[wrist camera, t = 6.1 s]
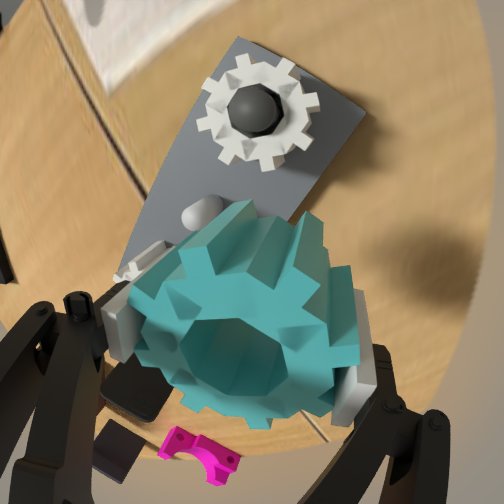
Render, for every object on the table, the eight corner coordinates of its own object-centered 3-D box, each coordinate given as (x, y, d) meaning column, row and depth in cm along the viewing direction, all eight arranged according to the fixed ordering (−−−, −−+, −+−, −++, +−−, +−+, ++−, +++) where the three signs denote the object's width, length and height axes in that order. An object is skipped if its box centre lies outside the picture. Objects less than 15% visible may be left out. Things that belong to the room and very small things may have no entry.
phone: (153, 322, 41) (95, 393, 27) (154, 318, 40) (95, 389, 27) (199, 345, 40) (151, 426, 27) (200, 341, 40) (152, 423, 26)
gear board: (242, 39, 24) (210, 10, 16) (364, 113, 24) (381, 105, 16) (123, 268, 38) (83, 300, 30) (205, 328, 38) (179, 373, 31)
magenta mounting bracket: (241, 455, 52) (231, 483, 45) (226, 460, 55) (216, 486, 48) (182, 422, 51) (167, 449, 44) (170, 429, 54) (156, 454, 47)
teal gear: (233, 162, 14) (172, 187, 8) (387, 268, 14) (413, 347, 8) (163, 293, 18) (109, 354, 12) (286, 370, 18) (268, 447, 13)
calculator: (109, 423, 62) (83, 461, 49) (109, 417, 60) (81, 457, 47) (145, 444, 62) (121, 485, 48) (146, 439, 60) (121, 482, 46)
